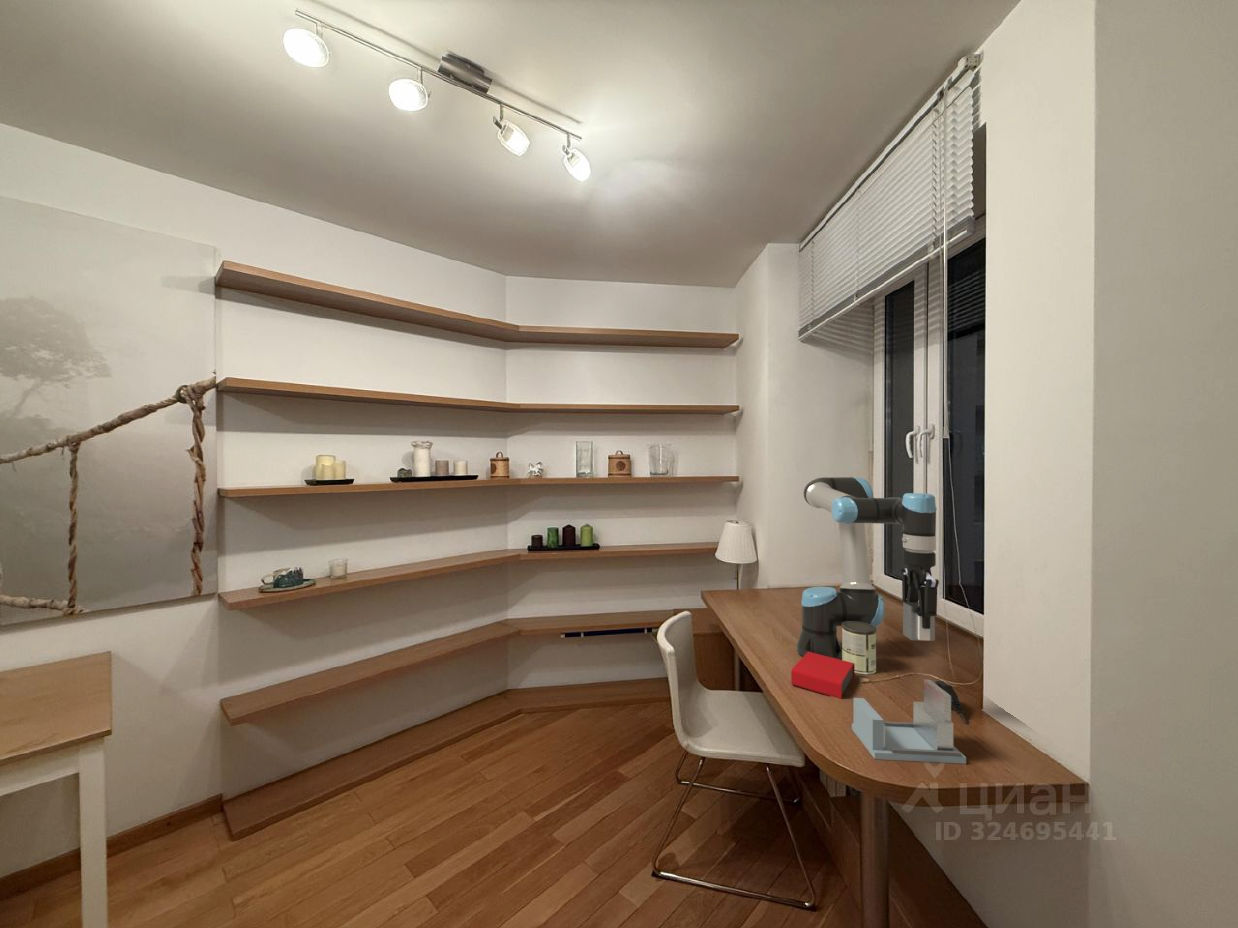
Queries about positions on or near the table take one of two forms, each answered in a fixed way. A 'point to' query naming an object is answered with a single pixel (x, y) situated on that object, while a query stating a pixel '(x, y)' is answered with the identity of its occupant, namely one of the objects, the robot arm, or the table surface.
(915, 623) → the steel block
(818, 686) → the red device housing
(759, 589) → the table surface
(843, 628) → the coffee can
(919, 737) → the vise base
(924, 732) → the sliding jaw
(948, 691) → the power plug
